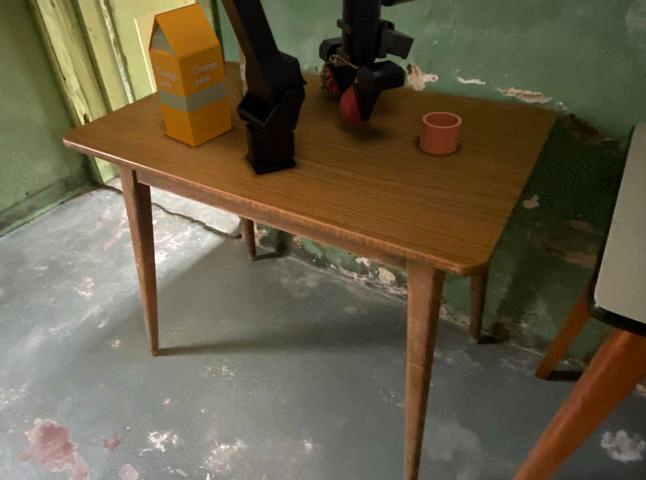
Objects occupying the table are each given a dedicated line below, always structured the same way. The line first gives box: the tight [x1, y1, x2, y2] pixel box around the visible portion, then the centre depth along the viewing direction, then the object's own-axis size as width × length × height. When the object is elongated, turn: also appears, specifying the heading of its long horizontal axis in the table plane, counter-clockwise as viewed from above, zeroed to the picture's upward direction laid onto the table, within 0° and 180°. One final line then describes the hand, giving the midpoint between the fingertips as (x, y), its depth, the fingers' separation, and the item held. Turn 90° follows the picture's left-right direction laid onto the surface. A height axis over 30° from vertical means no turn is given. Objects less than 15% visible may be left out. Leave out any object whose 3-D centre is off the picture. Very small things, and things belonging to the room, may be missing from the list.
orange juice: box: [147, 1, 232, 148], centre depth 81 cm, size 8×9×20 cm
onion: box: [339, 79, 376, 127], centre depth 81 cm, size 6×6×8 cm
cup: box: [418, 111, 463, 156], centre depth 77 cm, size 6×6×4 cm
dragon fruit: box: [319, 59, 357, 101], centre depth 94 cm, size 8×8×12 cm
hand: (356, 114), depth 83 cm, fingers closed on onion, 6 cm apart
